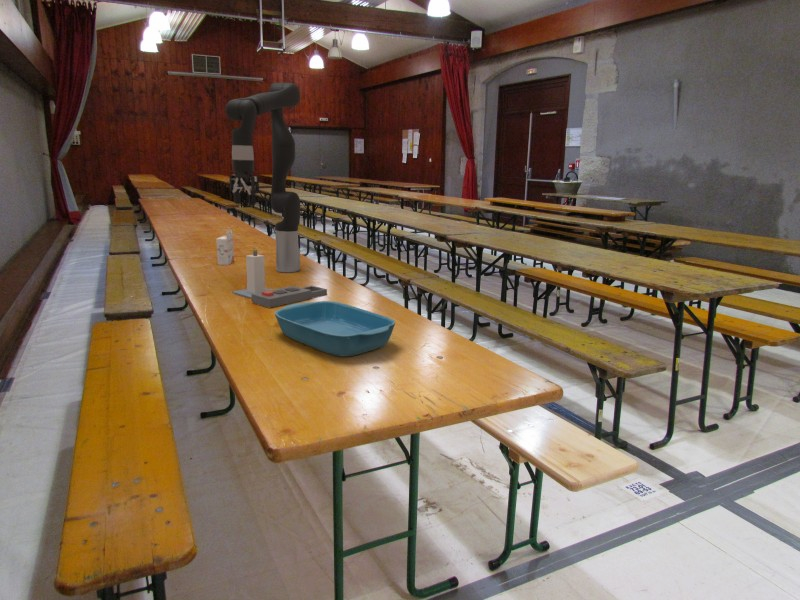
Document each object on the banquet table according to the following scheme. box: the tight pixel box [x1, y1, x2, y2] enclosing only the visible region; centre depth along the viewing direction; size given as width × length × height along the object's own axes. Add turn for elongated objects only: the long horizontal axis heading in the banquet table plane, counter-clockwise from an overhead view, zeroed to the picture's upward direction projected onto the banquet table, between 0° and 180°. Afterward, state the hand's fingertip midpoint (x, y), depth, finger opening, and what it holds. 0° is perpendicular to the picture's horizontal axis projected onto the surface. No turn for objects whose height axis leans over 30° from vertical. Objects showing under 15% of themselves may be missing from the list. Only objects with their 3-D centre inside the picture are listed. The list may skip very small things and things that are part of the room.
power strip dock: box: [251, 285, 328, 309], centre depth 195 cm, size 26×9×4 cm, turn 141°
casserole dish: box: [274, 300, 396, 358], centre depth 154 cm, size 37×22×7 cm, turn 45°
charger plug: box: [245, 249, 266, 294], centre depth 199 cm, size 4×4×15 cm
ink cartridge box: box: [215, 229, 235, 266], centre depth 250 cm, size 9×5×15 cm, turn 179°
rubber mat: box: [231, 287, 272, 299], centre depth 201 cm, size 12×12×1 cm
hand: (244, 204), depth 206 cm, fingers open, 8 cm apart
